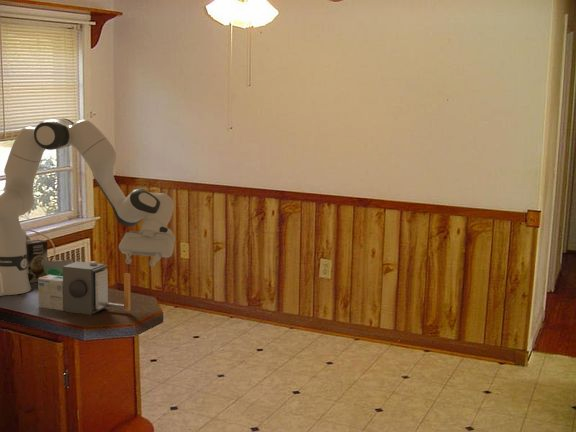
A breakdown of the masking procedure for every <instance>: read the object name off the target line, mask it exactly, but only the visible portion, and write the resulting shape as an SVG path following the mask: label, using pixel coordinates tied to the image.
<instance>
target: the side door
mask: <svg viewBox="0 0 576 432" xmlns="http://www.w3.org/2000/svg"><path fill="white" fill-rule="evenodd" d="M108 270H109V269H108V268H105V269H103V270H101V271H98V272H96V273H95V287H96V309H97V310H99V309H101V308H103V307H105V306H106V308H115V309H123V311H125V312H129V311H131V273H129V272H128V273H127V272H126V273H123V303H115V302H109V297H108V295H109V288H108V287H109V286H108V285H109V284H108V283H109V282H108V281H109V280H108V277H109V276H108V275H109V271H108Z"/></svg>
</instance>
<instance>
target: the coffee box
mask: <svg viewBox="0 0 576 432" xmlns="http://www.w3.org/2000/svg"><path fill="white" fill-rule="evenodd" d="M26 253H27V274H28V279H29V283H30V284H32V283H38V278H40V277H44V269H43V265H41V262H42V259H43V260H45V261H48V241H47V240H42V239H41V240H40V239H34V240H31V241H26Z"/></svg>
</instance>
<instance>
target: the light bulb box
mask: <svg viewBox="0 0 576 432" xmlns="http://www.w3.org/2000/svg"><path fill="white" fill-rule="evenodd" d="M37 284H38V285H37V286H38V287H37V288H38V289H37V291H38V307H39V308H43V309H50V310H56V311H63V276H55V275H47V276H44V277H40V278H38V282H37ZM63 312H64V311H63Z"/></svg>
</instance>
